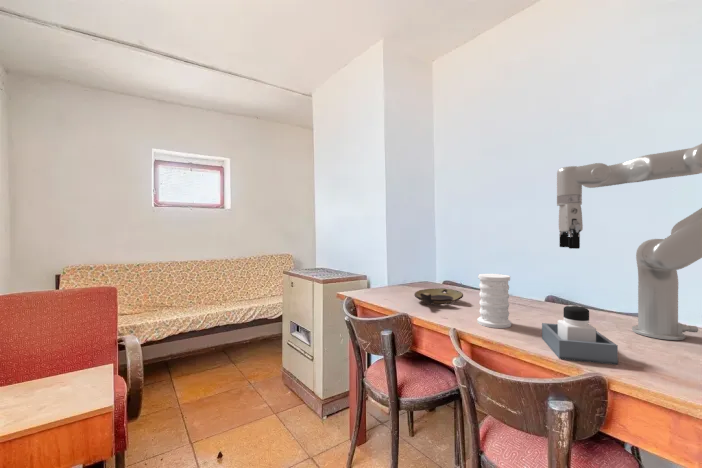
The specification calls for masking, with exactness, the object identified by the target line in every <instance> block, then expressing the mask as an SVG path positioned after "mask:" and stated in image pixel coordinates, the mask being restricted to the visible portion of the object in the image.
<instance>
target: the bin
mask: <svg viewBox="0 0 702 468" xmlns="http://www.w3.org/2000/svg"><path fill="white" fill-rule="evenodd" d="M541 339H542V341H544V343H545V344H546V345H547V346H548V348H550V350H551V351H552V352H553V353H554V354H555V356H556V357H557V358H558V359H559V360H567V361H576V362H586V363H595V364H596V363H598V364H607V365H615V366H618V365H619V364H618V363H619V361H618V359H619V358H618V357H619V356H618V355H619V353H618V351H619V350H618V349H619V345H617V344H616V343H615V342H613V341H612V340H611V339H609V338H607V337H606V336H605V335H603V334H602V333H600V332H599V331H597V330H596V342H585V341H573V340H562V339H561V338H560V337H559V336H558V323H546V322H541Z"/></svg>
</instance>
